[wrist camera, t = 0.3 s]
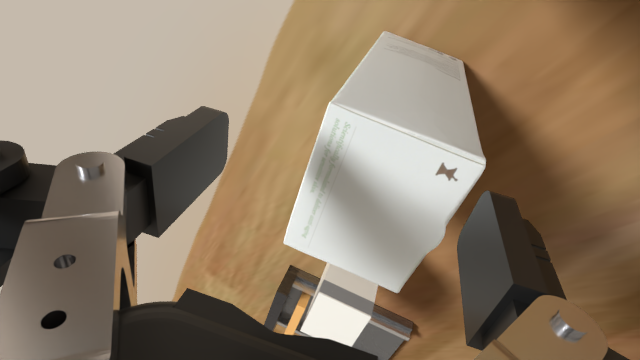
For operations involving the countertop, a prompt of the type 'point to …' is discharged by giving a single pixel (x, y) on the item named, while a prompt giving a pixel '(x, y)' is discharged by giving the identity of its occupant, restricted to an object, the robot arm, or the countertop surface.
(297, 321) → the orange rectangular bar
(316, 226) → the skincare box
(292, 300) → the dark grey open tray
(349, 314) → the block
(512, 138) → the countertop surface
